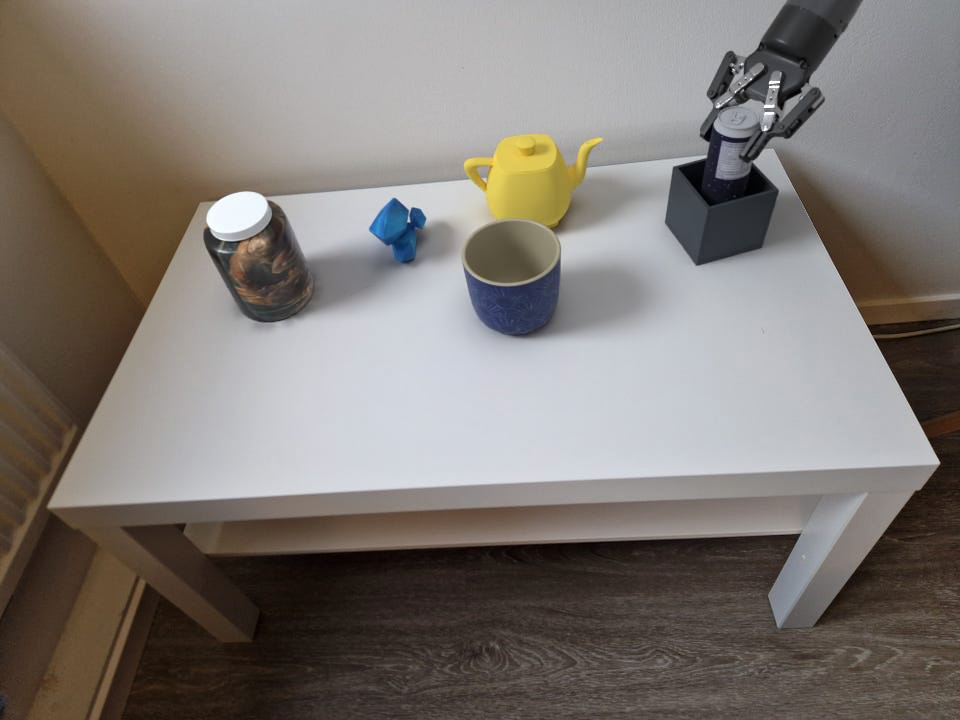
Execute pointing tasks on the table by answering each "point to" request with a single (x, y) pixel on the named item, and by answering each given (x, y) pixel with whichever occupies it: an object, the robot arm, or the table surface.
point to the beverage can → (729, 155)
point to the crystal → (398, 228)
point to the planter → (513, 274)
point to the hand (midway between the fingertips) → (723, 149)
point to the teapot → (530, 178)
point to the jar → (258, 256)
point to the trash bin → (718, 214)
